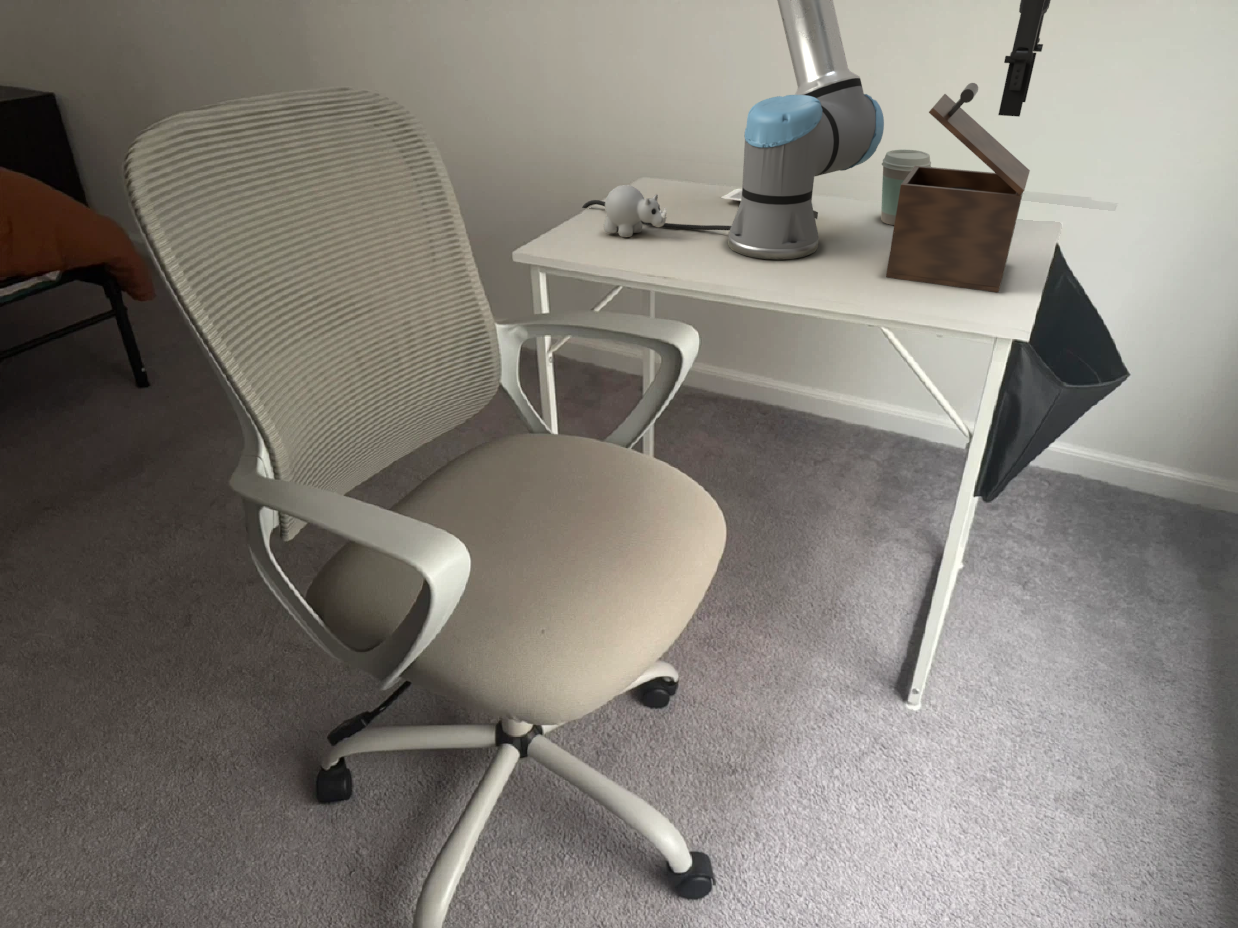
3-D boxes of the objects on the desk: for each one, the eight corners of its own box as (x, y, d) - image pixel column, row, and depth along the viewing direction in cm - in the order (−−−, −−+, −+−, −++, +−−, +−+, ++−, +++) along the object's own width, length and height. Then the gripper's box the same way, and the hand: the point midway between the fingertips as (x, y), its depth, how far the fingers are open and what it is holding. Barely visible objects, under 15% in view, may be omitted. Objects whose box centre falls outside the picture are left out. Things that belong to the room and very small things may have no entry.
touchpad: (736, 193, 176) (737, 183, 174) (806, 203, 169) (807, 192, 168) (720, 203, 170) (720, 192, 169) (791, 213, 163) (792, 202, 162)
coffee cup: (926, 218, 160) (938, 151, 154) (914, 230, 154) (926, 161, 148) (881, 212, 164) (890, 146, 158) (867, 223, 158) (877, 156, 152)
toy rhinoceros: (654, 246, 148) (655, 196, 144) (597, 235, 154) (596, 187, 149) (675, 235, 153) (676, 187, 149) (619, 225, 159) (618, 178, 155)
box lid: (928, 112, 121) (955, 81, 117) (941, 97, 130) (966, 69, 127) (1019, 195, 121) (1049, 167, 118) (1025, 174, 130) (1053, 148, 127)
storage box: (885, 277, 134) (900, 184, 127) (900, 253, 144) (914, 165, 136) (998, 292, 128) (1021, 196, 121) (1005, 266, 138) (1027, 175, 130)
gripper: (1026, -76, 120) (992, 93, 132) (1014, -74, 102) (975, 121, 114) (1085, -77, 117) (1045, 96, 129) (1083, -75, 99) (1036, 125, 111)
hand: (1012, 108), depth 121 cm, fingers open, 11 cm apart
